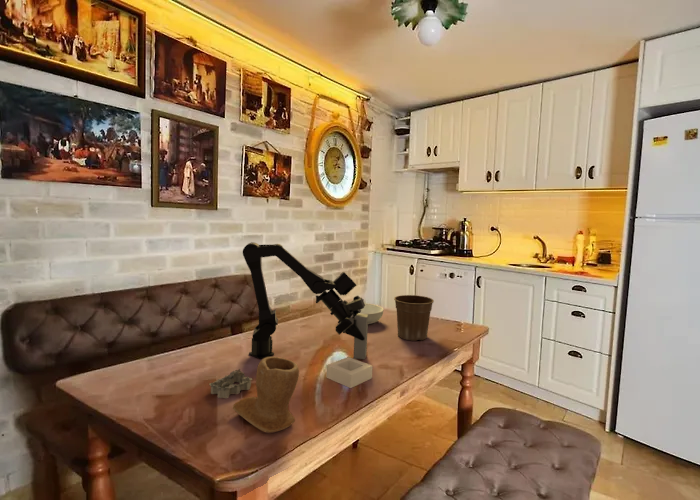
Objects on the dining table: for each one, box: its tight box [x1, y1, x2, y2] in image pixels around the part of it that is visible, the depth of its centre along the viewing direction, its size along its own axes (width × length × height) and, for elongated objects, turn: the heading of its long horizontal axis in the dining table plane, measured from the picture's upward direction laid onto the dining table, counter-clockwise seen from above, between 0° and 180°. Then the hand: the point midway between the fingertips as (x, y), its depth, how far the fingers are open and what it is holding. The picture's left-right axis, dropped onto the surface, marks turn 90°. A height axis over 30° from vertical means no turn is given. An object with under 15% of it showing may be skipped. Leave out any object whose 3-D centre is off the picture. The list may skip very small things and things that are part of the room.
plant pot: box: [393, 294, 435, 342], centre depth 163 cm, size 16×16×16 cm
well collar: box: [325, 356, 373, 389], centre depth 120 cm, size 10×10×4 cm
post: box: [353, 314, 369, 360], centre depth 138 cm, size 4×4×15 cm
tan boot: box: [232, 356, 300, 433], centre depth 94 cm, size 15×12×15 cm
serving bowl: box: [358, 302, 384, 325], centre depth 182 cm, size 21×21×7 cm
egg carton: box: [208, 368, 254, 399], centre depth 109 cm, size 11×8×4 cm
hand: (364, 337), depth 137 cm, fingers closed on post, 4 cm apart
